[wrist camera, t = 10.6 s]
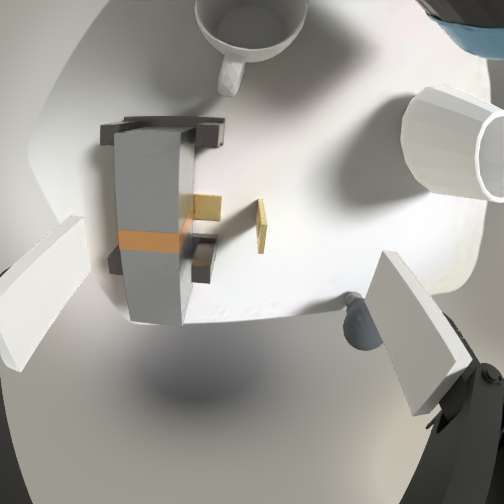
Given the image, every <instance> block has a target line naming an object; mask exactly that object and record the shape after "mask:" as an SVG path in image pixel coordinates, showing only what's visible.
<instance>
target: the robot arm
mask: <svg viewBox="0 0 504 504" xmlns="http://www.w3.org/2000/svg"><path fill="white" fill-rule="evenodd" d="M416 1H417V2H418V3H419V4H420V6H421V7H422V8H423V9H424V10H425V12H426V14H427V15H428V16H429V18H431V19H432V20H433V21H435V22H436V23H438V24H439V25H440V26H441V28H442V29H443V30H444V31H445V32H446V33H447V34H448V35H449V36H450V38H451V39H452V40H453V41H454V42H455V43H456V44H457V45H458V46H459V47H460V48H462V49H463V50H465V51H466V52H468V53H471V54H473V55H477V56H479V57H482V58H486V59H493V60H504V0H416ZM91 270H92V269H91V263H90V257H89V250H88V242H87V234H86V226H85V217H82V216H70V217H68V218H67V219H66V220H65V221H63V222H62V223H61V224H60V225H58V226H57V227H56V228H55V229H54V230H52V231H51V232H50V233H49V234H47V235H46V236H45V237H44V238H43V239H42V240H40V241H39V242H38V243H37V244H36V245H35V246H34V247H33V248H31V249H30V250H29V251H28V252H27V253H26V254H25V255H23V256H22V257H21V258H20V259H19V260H18V261H17V262H16V263H15V264H14V265H13V266H11V267H10V268H8V269H6V270H5V271H4V272H2V274H0V356H1V358H2V359H3V361H4V363H5V364H6V366H7V367H9V368H12V369H14V370H16V371H18V372H22V370H23V368H24V367H25V365H26V363H27V362H28V360H29V359H30V357H31V355H32V354H33V352H34V351H35V349H36V347H37V346H38V344H39V343H40V341H41V340H42V338H43V337H44V335H45V333H46V332H47V331H48V329H49V328H50V326H51V325H52V323H53V322H54V320H55V319H56V318H57V316H58V315H59V313H60V312H61V310H62V309H63V308H64V306H65V305H66V303H67V302H68V301H69V299H70V298H71V297H72V295H73V294H74V293H75V291H76V290H77V289H78V287H79V286H80V285H81V283H82V282H83V281H84V279H85V278H86V277H87V275H88V274H89V273H90V272H91ZM364 302H365V304H366V306H367V308H368V310H369V312H370V314H371V317H372V319H373V321H374V323H375V325H376V328H377V330H378V332H379V334H380V336H381V339H382V341H383V343H384V346H385V348H386V350H387V353H388V355H389V357H390V360H391V362H392V364H393V366H394V369H395V372H396V374H397V376H398V379H399V382H400V384H401V387H402V389H403V392H404V394H405V397H406V400H407V402H408V405H409V408H410V410H411V412H412V416H418V415H423V414H429V413H430V412H431V411H432V410H433V409H434V408H435V407H436V405H437V404H438V403H439V404H440V407H441V409H442V410H441V411H440V412H439V413H438V414H437V415H436V416H435V418H433V420H432V421H431V422H430V423H429V424H428V425H427V426H426V429H428V428H430V426H431V425H433V424H434V425H433V428H432V430H431V434H430V437H429V439H428V442H427V445H426V447H425V450H424V452H423V454H422V457H421V459H420V462H419V464H418V466H417V468H416V471H415V473H414V475H413V477H412V479H411V481H410V484H409V486H408V488H407V490H406V492H405V494H404V495H403V497H402V499H401V501H400V503H399V504H504V378H503V377H502V375H501V373H500V372H499V371H498V370H497V369H496V368H495V367H494V366H492V365H490V364H487V363H481V364H480V363H479V361H478V359H477V358H476V356H475V354H474V353H473V351H472V350H471V348H470V346H469V345H468V343H467V342H466V340H465V339H463V336H462V334H461V333H460V331H458V328H457V327H456V325H455V324H454V322H453V321H452V320H451V319H450V318H449V317H448V316H447V315H446V314H445V313H443V312H441V310H440V309H439V307H438V306H437V305H436V303H435V302H434V300H433V299H432V298H431V296H430V295H429V293H428V292H427V291H426V289H425V288H424V287H423V285H422V284H421V283H420V281H419V280H418V279H417V277H416V276H415V275H414V273H413V272H412V271H411V270H410V268H409V267H408V266H407V264H406V263H405V262H404V261H403V259H402V258H401V257H400V256H399V254H398V253H397V252H391V251H384V250H383V251H382V254H381V257H380V259H379V262H378V265H377V268H376V271H375V274H374V276H373V279H372V282H371V284H370V287H369V290H368V292H367V295H366V297H365V300H364ZM0 504H33V503H32V501H31V498H30V496H29V493H28V490H27V488H26V485H25V482H24V479H23V476H22V474H21V471H20V468H19V464H18V461H17V458H16V454H15V450H14V447H13V443H12V439H11V435H10V431H9V427H8V422H7V417H6V412H5V406H4V400H3V394H2V387H1V379H0Z"/></svg>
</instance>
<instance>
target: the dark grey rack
mask: <svg viewBox="0 0 504 504" xmlns="http://www.w3.org/2000/svg"><path fill="white" fill-rule="evenodd" d="M141 127H196V139H195V146H201V147H218V146H219V145H223V140H224V128H225V118H214V117H190V116H134V117H124V121H123V122H116V123H110V124H104V125H101V127H100V146H101V145H114V134H115V133H119V132H123V131H127V130H132V129H137V128H141ZM221 199H222V196H217V195H203V194H193V219H202V220H215V221H220V214H221ZM266 230H267V220H266V215H265V209H264V204H263V199H258V207H257V216H256V233H257V245H258V253H259V254H263V253H264V246H265V238H266ZM216 238H217V235H208V234H195V233H192V259H193V261H192V264H191V282H196V283H207V284H210V281H211V275H212V270H213V265H214V261H215V257H216ZM108 264H109V271H110V274H118V275H123V269H122V261H121V253H120V249H119V244H118V246H117V247H116V248H115V249H114V250H113V252H112V253H111V254H110V255H109V257H108Z"/></svg>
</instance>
